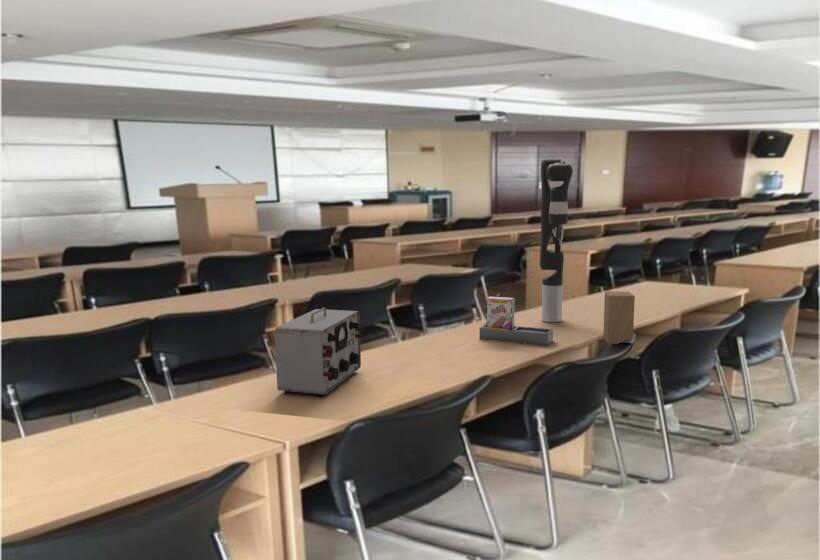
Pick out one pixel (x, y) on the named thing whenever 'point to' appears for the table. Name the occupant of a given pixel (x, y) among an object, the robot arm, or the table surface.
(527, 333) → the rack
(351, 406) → the table surface
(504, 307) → the candy bar box
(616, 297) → the wooden block
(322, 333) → the vintage electronic device
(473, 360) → the table surface
